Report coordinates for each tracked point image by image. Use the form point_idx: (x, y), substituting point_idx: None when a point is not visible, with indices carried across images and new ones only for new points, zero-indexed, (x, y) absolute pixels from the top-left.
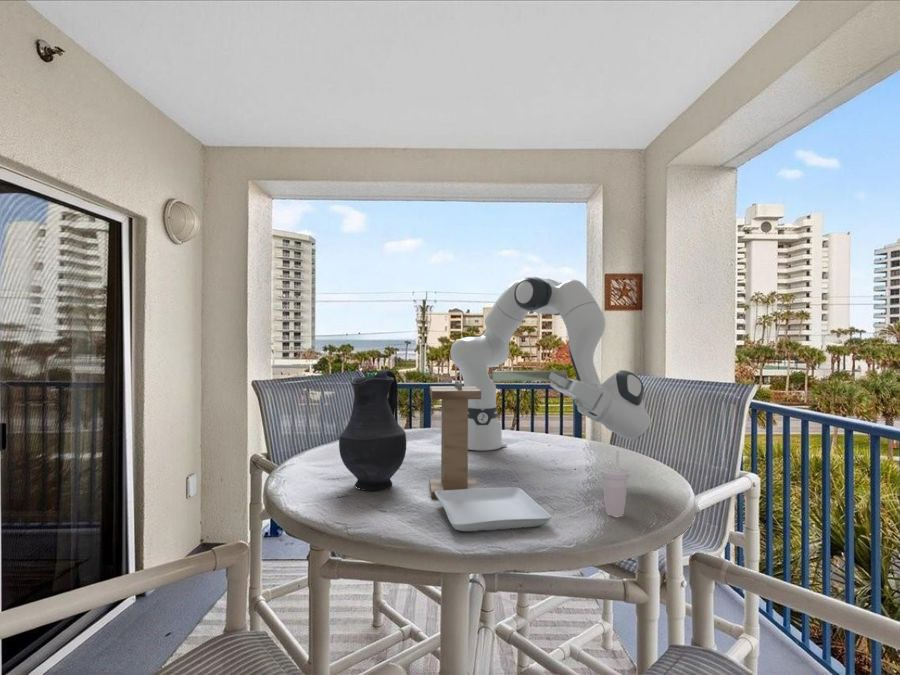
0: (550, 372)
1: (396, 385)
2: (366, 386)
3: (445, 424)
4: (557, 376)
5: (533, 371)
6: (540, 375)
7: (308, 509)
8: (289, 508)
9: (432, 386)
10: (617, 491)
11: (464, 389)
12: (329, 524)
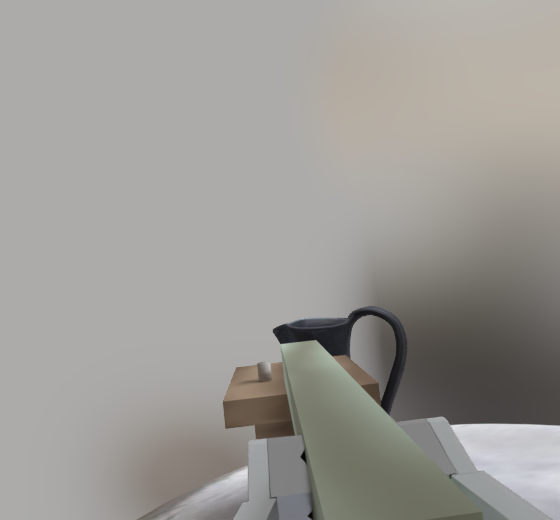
0: (290, 436)
1: (397, 340)
2: (281, 336)
3: None
4: (245, 511)
5: (290, 383)
6: (297, 429)
7: (231, 484)
8: (238, 471)
9: (339, 356)
10: None
11: (269, 383)
12: (167, 512)
